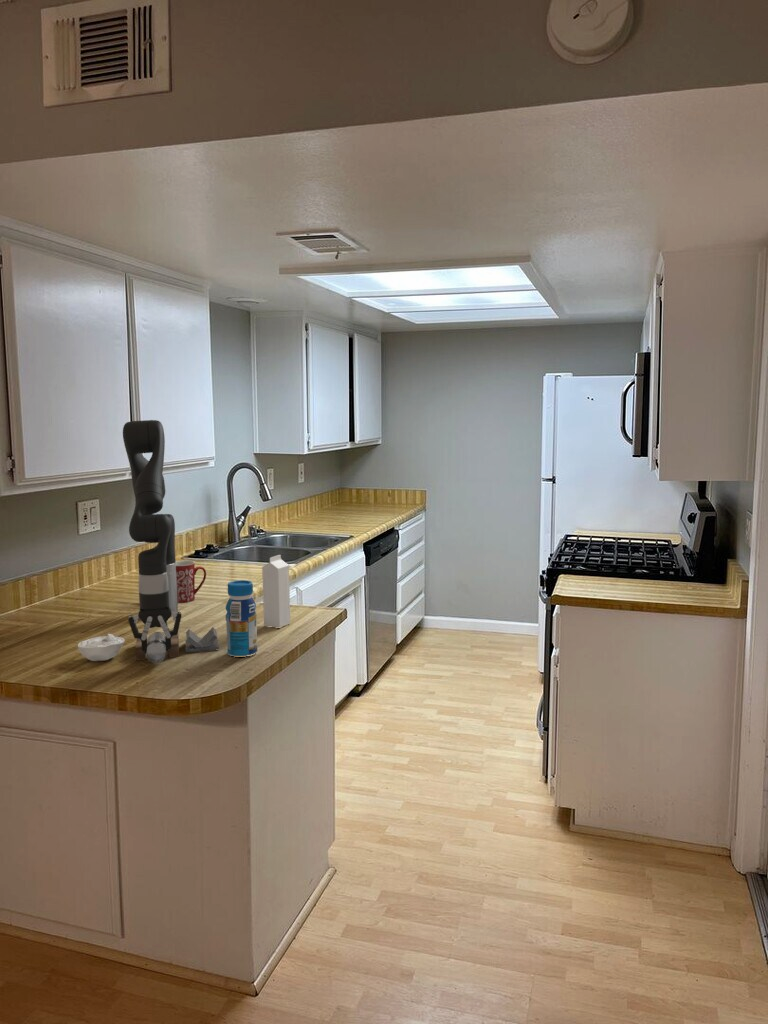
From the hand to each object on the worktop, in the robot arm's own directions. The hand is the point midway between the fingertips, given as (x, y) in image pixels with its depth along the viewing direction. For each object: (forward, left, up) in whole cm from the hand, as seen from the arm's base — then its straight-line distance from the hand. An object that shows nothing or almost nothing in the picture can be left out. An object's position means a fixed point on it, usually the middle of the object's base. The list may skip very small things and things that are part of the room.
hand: (156, 651), depth 203 cm
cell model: (-16, -3, -3) cm, 16 cm away
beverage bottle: (+18, +13, -3) cm, 23 cm away
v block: (+4, +15, -3) cm, 16 cm away
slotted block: (-6, +8, -3) cm, 11 cm away
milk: (+14, +41, -3) cm, 44 cm away
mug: (-31, +60, -3) cm, 68 cm away
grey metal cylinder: (0, 0, -1) cm, 1 cm away
